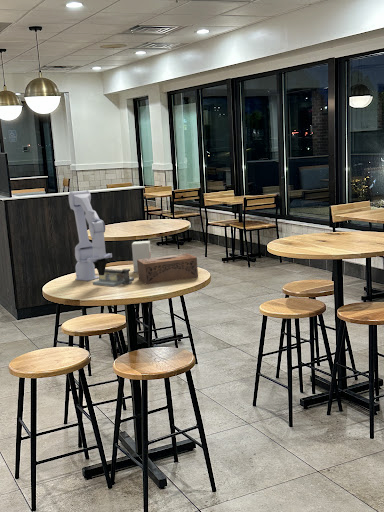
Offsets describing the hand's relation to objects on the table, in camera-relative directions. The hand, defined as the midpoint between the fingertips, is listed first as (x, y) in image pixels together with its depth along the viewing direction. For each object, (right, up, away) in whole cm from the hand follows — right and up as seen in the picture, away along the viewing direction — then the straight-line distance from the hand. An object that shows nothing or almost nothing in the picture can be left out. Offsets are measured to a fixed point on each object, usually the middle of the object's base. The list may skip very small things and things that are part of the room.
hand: (101, 275), depth 301 cm
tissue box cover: (+31, -2, +6) cm, 32 cm away
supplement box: (+17, +1, +31) cm, 36 cm away
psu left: (+1, -2, +8) cm, 9 cm away
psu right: (+7, -3, +4) cm, 9 cm away
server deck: (+7, -4, +5) cm, 9 cm away
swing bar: (+6, +1, +4) cm, 7 cm away
